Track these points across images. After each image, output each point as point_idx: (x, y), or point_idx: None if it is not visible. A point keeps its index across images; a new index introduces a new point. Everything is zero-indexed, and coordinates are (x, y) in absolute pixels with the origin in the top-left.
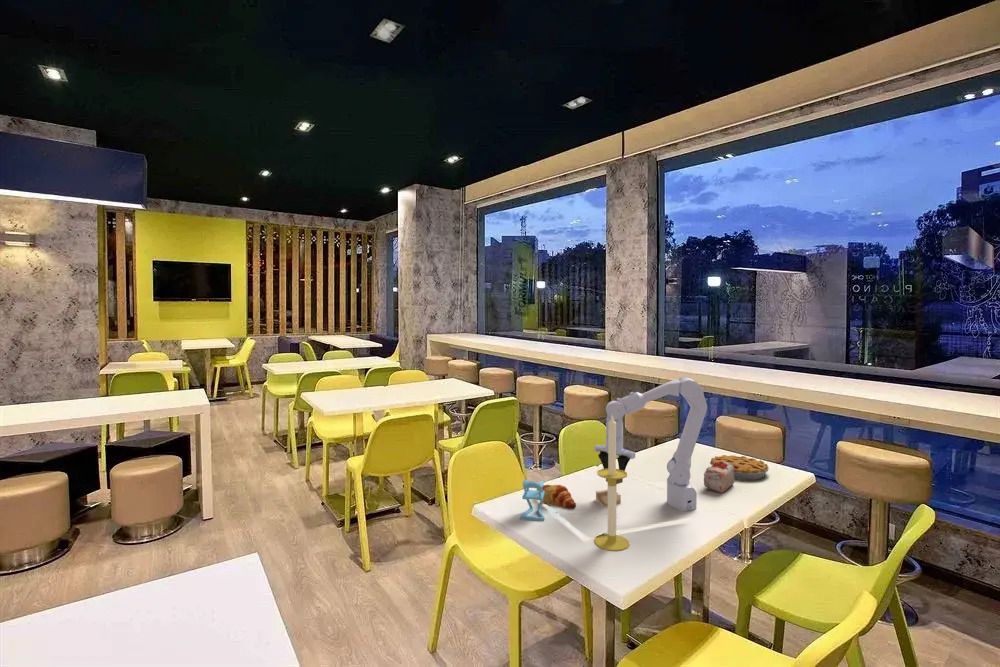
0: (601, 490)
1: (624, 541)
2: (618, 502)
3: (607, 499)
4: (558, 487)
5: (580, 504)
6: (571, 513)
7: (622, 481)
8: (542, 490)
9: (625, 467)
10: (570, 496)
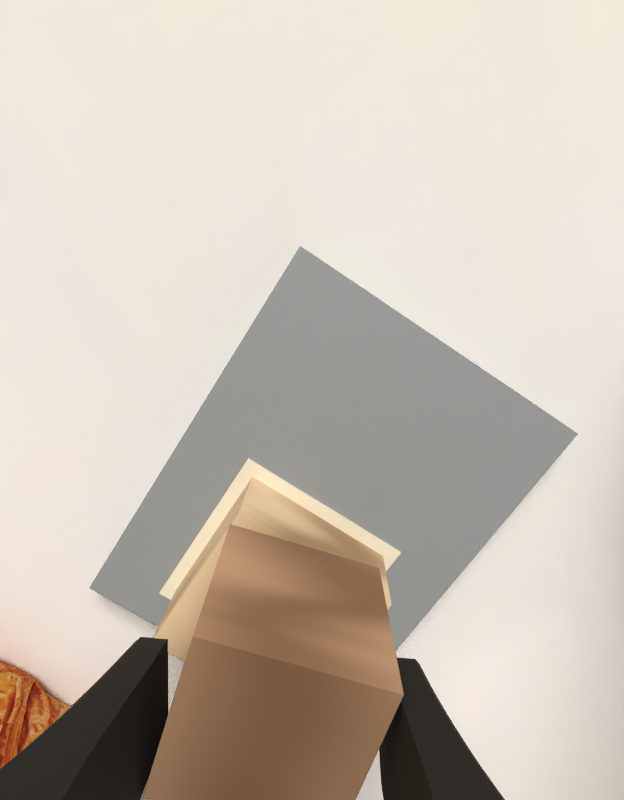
0: (181, 600)
1: None
2: None
3: None
4: None
5: (102, 644)
6: (143, 792)
7: (379, 576)
8: None
9: (488, 797)
10: (18, 752)
